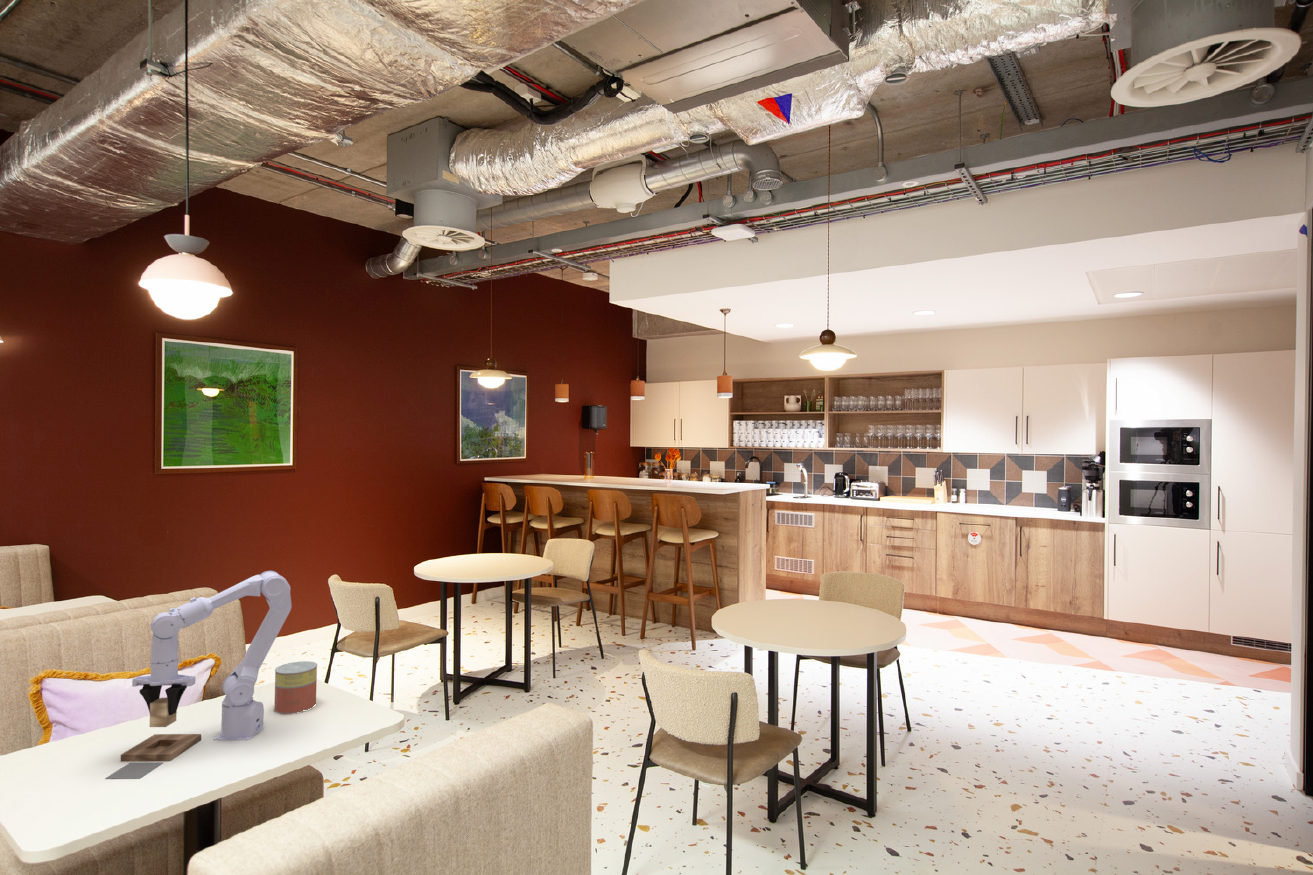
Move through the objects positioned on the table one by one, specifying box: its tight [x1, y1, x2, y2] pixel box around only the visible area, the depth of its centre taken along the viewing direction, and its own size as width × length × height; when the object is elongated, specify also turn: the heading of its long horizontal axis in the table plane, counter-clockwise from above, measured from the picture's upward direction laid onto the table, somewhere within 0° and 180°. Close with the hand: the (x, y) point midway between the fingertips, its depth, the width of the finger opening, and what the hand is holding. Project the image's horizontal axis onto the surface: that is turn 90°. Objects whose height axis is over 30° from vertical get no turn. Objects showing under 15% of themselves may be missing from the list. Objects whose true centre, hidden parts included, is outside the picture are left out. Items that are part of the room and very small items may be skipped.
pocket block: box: [120, 733, 202, 762], centre depth 172 cm, size 12×12×2 cm
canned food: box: [273, 660, 318, 715], centre depth 203 cm, size 11×11×12 cm
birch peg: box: [149, 697, 178, 728], centre depth 173 cm, size 4×4×6 cm
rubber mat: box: [104, 761, 165, 780], centre depth 161 cm, size 8×8×1 cm
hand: (163, 713), depth 173 cm, fingers closed on birch peg, 4 cm apart
